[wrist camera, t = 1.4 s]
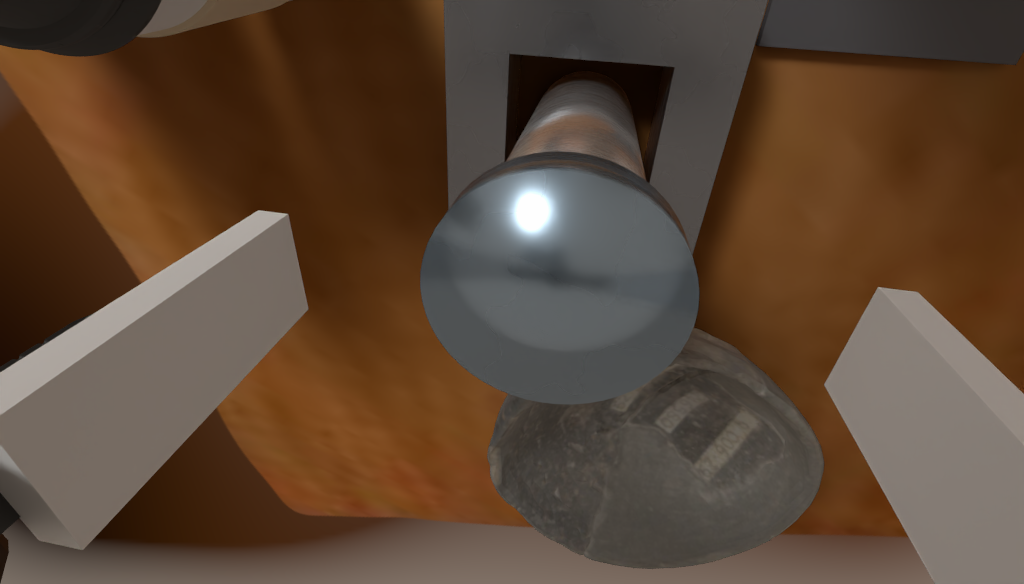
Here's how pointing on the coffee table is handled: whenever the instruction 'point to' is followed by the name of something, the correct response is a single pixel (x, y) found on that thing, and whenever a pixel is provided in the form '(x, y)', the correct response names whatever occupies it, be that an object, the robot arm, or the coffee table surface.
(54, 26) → the coffee cup
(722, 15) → the frame
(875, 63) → the coffee table surface
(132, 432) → the robot arm
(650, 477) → the bowl
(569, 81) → the silver domed cylinder
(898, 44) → the mat
